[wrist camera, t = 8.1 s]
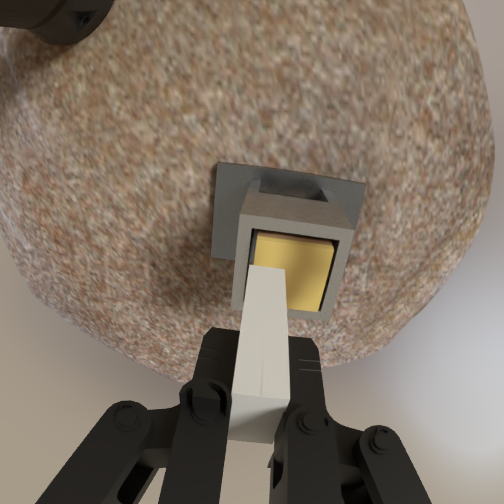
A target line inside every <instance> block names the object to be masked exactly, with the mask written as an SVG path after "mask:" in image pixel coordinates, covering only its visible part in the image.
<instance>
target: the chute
mask: <svg viewBox="0 0 504 504" xmlns="http://www.w3.org/2000/svg"><path fill="white" fill-rule="evenodd" d="M365 186H366V185H365V184H364V183H360V182H355V181H350V180H344V179H339V178H333V177H327V176H322V175H316V174H309V173H303V172H297V171H290V170H283V169H276V168H268V167H261V166H253V165H244V164H235V163H226V162H218V163H217V175H216V187H215V200H214V214H213V229H212V245H211V257H212V258H219V259H226V260H234V261H235V267H234V277H233V288H232V299H231V309H230V310H237V311H243V307H244V300H245V292H246V285H247V278H248V271H249V265H250V263H254V258H255V250H256V242H257V235H258V229H263V230H271V231H278V232H285V233H293V234H300V235H307V236H314V237H321V238H328V239H330V240H331V243H332V246H333V248H334V252H333V256H332V260H331V264H330V268H329V272H328V276H327V280H326V283H325V287H324V291H323V294H322V298H321V302H320V305H319V309H318V312H313V311H304V310H295V309H287V317H292V318H301V319H311V320H321V321H329V319H330V316H331V313H332V310H333V307H334V304H335V300H336V297H337V294H338V290H339V287H340V284H341V280H342V277H343V274H344V271H345V267H346V264H347V260H348V256H349V252H350V249H351V245H352V241H353V237H354V233H355V229H356V225H357V221H358V217H359V213H360V208H361V204H362V200H363V195H364V191H365Z"/></svg>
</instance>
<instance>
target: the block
mask: <svg viewBox="0 0 504 504" xmlns="http://www.w3.org/2000/svg"><path fill="white" fill-rule="evenodd" d="M333 252H334V248H333V246H332V243H331V240H330V239H328V238H321V237H314V236H307V235H300V234H293V233H285V232H278V231H271V230H263V229H258V235H257V242H256V250H255V258H254V265H256V266H264V267H271V268H279V269H285V284H286V303H287V309H295V310H304V311H313V312H318V309H319V305H320V302H321V298H322V294H323V291H324V287H325V283H326V280H327V276H328V272H329V268H330V264H331V260H332V256H333Z"/></svg>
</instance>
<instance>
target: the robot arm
mask: <svg viewBox="0 0 504 504" xmlns="http://www.w3.org/2000/svg"><path fill="white" fill-rule="evenodd" d="M113 2H114V0H0V27H11V28H19V29H27V30H29V31H31V32H32V33H33V34H35V35H36V36H37V37H39V38H40V39H41V40H42V41H44V42H46V43H48V44H53V45H59V46H65V45H70V44H73V43H76V42H78V41H80V40H82V39H83V38H85V37H86V36H88V35H89V34H90V33H91V32H92V31H94V30H95V29H96V28H97V27H98V26H99V24H100V23H101V22H102V21H103V19H104V18H105V17H106V15H107V14H108V12H109V10H110V8H111V6H112V4H113ZM179 396H180V404H179V405H177V406H174V407H172V408H167V409H155V410H147V408H146V407H144V406H143V405H141V404H140V403H137V402H134V401H120V402H117V403H115V404H113V405H112V406H111V407H109V408H108V409H107V410H106V412H105V413H104V414H103V416H102V417H101V418H100V419H99V421H98V422H97V423H96V425H95V426H94V427H93V428H92V430H91V431H90V433H89V434H88V435H87V437H85V439H84V440H83V441H82V443H81V444H80V446H79V447H78V448H77V449H76V451H75V452H74V453H73V454H72V456H71V457H70V458H69V460H68V461H67V462H66V464H65V465H64V466H63V467H62V469H61V470H60V471H59V473H58V474H57V475H56V477H55V478H54V479H53V481H52V482H51V483H50V485H49V486H48V487H47V489H46V490H45V491H44V493H43V494H42V495H41V497H40V498H39V499H38V501H37V502H36V503H35V504H138V503H139V501H140V500H141V498H142V496H143V494H144V493H145V491H146V490H147V488H148V486H149V485H150V483H151V481H152V480H153V478H154V476H155V475H156V473H157V471H158V470H159V468H166V472H165V476H164V480H163V484H162V489H161V493H160V497H159V502H158V504H219V499H220V491H221V483H222V476H223V468H224V461H225V453H226V444H227V439H229V440H237V441H246V442H256V443H268V444H272V443H273V441H274V452H273V454H272V457H271V459H270V461H269V463H268V468H271V475H270V498H269V504H432V503H431V501H430V499H429V497H428V494H427V492H426V490H425V488H424V486H423V484H422V482H421V480H420V478H419V476H418V474H417V472H416V470H415V468H414V466H413V464H412V462H411V460H410V458H409V456H408V454H407V452H406V450H405V448H404V446H403V444H402V442H401V440H400V438H399V436H398V435H397V434H396V433H395V431H393V430H392V429H390V428H389V427H386V426H382V425H376V426H371V427H369V428H367V429H365V431H360V430H356V429H352V428H349V427H346V426H343V425H340V424H339V423H337V422H336V421H334V420H333V419H332V417H331V416H330V415H329V413H328V412H327V409H326V405H325V397H324V388H323V380H322V373H321V365H320V358H319V350H318V348H317V346H316V345H315V343H314V342H313V340H312V339H311V338H303V337H293V336H288V324H287V303H286V284H285V269H279V268H271V267H264V266H256V265H249V271H248V278H247V285H246V292H245V300H244V307H243V314H242V321H241V329H240V331H236V330H229V329H222V328H215V327H212V328H211V329H210V330H209V331H208V332H207V333H206V334H205V335H204V337H203V340H202V344H201V349H200V352H199V355H198V359H197V363H196V367H195V371H194V375H193V378H192V380H190V381H189V382H188V383H186V384H185V385H184V386H183V387H182V389H181V390H180V392H179ZM274 438H275V439H274Z"/></svg>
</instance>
